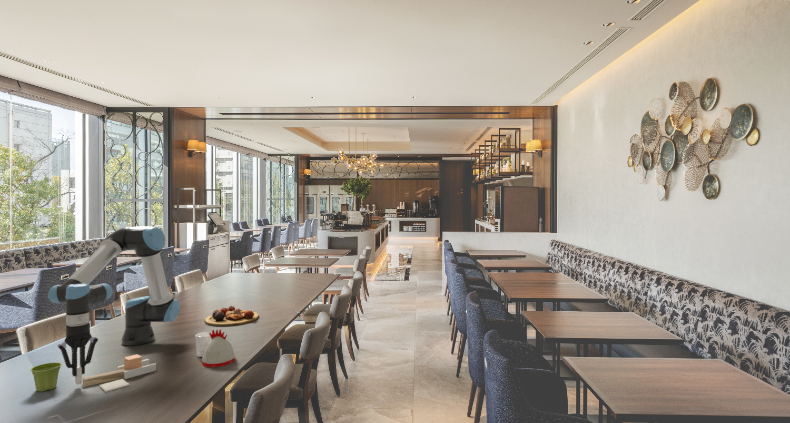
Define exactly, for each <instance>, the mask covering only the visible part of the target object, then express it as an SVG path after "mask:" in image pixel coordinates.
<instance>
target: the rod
mask: <svg viewBox="0 0 790 423" xmlns="http://www.w3.org/2000/svg"><path fill="white" fill-rule="evenodd" d="M124 371H125V370H124V369H122V370H118V369H117V370H114V371H109V372H104V373H100V374H95V375H89V376H85V377H82V386H83V388H85V387H89V386H93V385H97V384H99V385H100V384H104V383H108V382H113V381H116V380H120V379H124Z"/></svg>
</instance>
